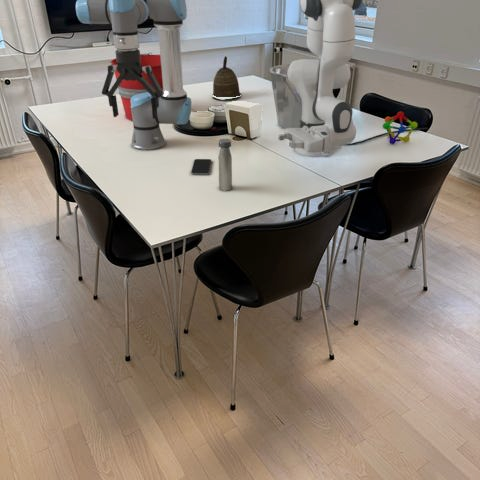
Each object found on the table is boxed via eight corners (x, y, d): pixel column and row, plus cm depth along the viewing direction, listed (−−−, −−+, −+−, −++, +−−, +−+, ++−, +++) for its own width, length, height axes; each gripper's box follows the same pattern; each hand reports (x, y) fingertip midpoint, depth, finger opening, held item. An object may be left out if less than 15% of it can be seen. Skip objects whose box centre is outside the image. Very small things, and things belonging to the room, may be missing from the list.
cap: (218, 144, 160) (218, 138, 159) (230, 144, 161) (230, 138, 159) (219, 148, 157) (219, 142, 155) (231, 148, 157) (231, 142, 156)
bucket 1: (124, 106, 262) (117, 51, 246) (183, 106, 262) (180, 52, 246) (108, 124, 233) (99, 63, 217) (174, 124, 232) (170, 64, 216)
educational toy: (377, 146, 209) (379, 114, 202) (384, 138, 219) (386, 107, 211) (411, 149, 202) (415, 116, 195) (417, 141, 212) (420, 109, 204)
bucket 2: (296, 138, 215) (301, 78, 201) (255, 124, 234) (256, 68, 219) (335, 125, 232) (342, 70, 217) (294, 113, 251) (297, 61, 236)
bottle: (218, 185, 169) (217, 139, 159) (231, 185, 170) (231, 139, 160) (219, 191, 165) (218, 143, 155) (232, 190, 166) (232, 143, 156)
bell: (227, 105, 294) (202, 96, 282) (238, 66, 289) (213, 55, 277) (243, 108, 280) (217, 98, 268) (255, 66, 275) (229, 55, 263)
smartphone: (190, 173, 177) (194, 158, 190) (190, 174, 178) (194, 160, 190) (208, 173, 177) (211, 159, 190) (209, 174, 178) (211, 160, 190)
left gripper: (84, 50, 136) (95, 118, 148) (163, 52, 134) (168, 121, 145) (93, 46, 143) (104, 112, 154) (169, 48, 140) (174, 114, 152)
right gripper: (304, 122, 177) (273, 125, 173) (331, 137, 161) (297, 141, 156) (303, 137, 180) (272, 141, 176) (329, 153, 164) (296, 158, 160)
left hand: (135, 116), depth 150 cm, fingers open, 13 cm apart
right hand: (284, 141), depth 166 cm, fingers open, 8 cm apart
